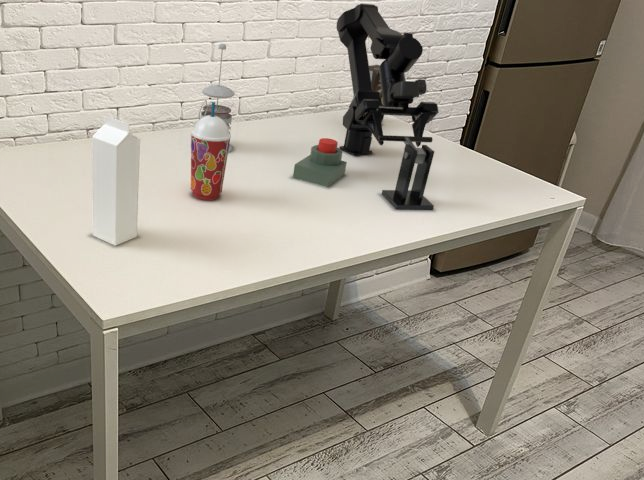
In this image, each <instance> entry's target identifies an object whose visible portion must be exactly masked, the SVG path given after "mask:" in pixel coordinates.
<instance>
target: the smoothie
mask: <svg viewBox="0 0 644 480" xmlns="http://www.w3.org/2000/svg"><path fill="white" fill-rule="evenodd" d="M211 102H212V109H211V115H208V116H204V117H202V118H201V117H200V120H199V119H198V120H197V121H196V123H195V124H194V126H193V128H192V129H191V130H190V135H191V136H190V137H191V138H190V191H192V195H193V197H195V198H196V199H199V200H202V201H214V200H217V199H218V198H220V194H221V193H222V192H223V186H224V180H225V173H226V167H227V162H228V156H229V155H228V154H229V152H228V150H229V144H230V142H231V138H232V134H231V131H230V129H228V126H227V125H226V123H225V122H224V121H223V120H222V119H221V118H219V117H217V116H215V115H214V111H215V105H216V101H211ZM229 131H230V132H229Z"/></svg>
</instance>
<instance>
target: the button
mask: <svg viewBox="0 0 644 480" xmlns="http://www.w3.org/2000/svg"><path fill="white" fill-rule="evenodd" d="M338 144H339V142H338V141H337V140H336V139H333V138H328V137H327V138H326V137H323V138H320V139H319V140H318V144H317V145H318V151H320V152H323V153H330V154H332V153H336V149H337V148H338Z"/></svg>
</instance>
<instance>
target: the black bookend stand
mask: <svg viewBox="0 0 644 480" xmlns="http://www.w3.org/2000/svg"><path fill="white" fill-rule="evenodd" d="M421 148H422V149H423V150H424V151H425V153H426V157H425V160H424V163H423V164H416V169H415V172H414V176H413V171H414V168H415V160H416V156H417V152H418V151H417V150H416V149H415V148H413V147H412V146H411V145H410V144H406V145H405V144H404V149H403V155H402V159H401V162H400V167H399V170H398V175H397V180H396V184H395V189H382V190H381V196H382V197H383V198H384V199H385V200H386V201H387V202H388V203H389V204H390V206H392V208H394V210H395V211H434V208H435V205H434V204H433V203H432V202H431V201H430V200H429V199H427V197H425V196H424V194H425V190H426V186H427V182H428V180H429V179H428V178H429V175H430V171H431V167H432V164H433V160H434V155H435V150H433V149H432V148H431V147H430V146H428V145H427V144H422V145H421ZM412 176H413V181H412V185H411V188H410V184H411V180H412ZM409 189H411V190H409Z"/></svg>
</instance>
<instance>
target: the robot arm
mask: <svg viewBox="0 0 644 480" xmlns="http://www.w3.org/2000/svg"><path fill="white" fill-rule="evenodd" d="M336 31H337V34H338V37H339V41H340V42H341V43H342V45H343V46H345V48H346V50H347V56H348V64H349V71H350V79H351V85H352V93H353V96H354V98H353V97H352V100H351V102H350V104H349V106H348V109H347V110H346V112H345V113H344V115H343V116H342V126H343V127H344V128H345V129H346V133H345V138H344V144H343V145H340V146H339V148H338V149H340V150H342V151H344V152H346V153H348V154H350V155H352V156H356V157H358V156H364V155H370V154H373V150H371V145H372V141H373V137H374V139H375V140H376V141H377V143H378V144H379V146H383V145H384V143H385V141H378V136H379V135H384V131H383V123H382V124H381V122H382V120H383V121H384V118H383V117H385V116H399V117H400V116H401V117H411V121H412V122H413V123H412V124H411V127H412V132H413V136H415V137H424V132H425V128H426V125H427V124H429V123H430V122H431V121H432V120H433V119H434V118H435V117H436V116H437V115H438V114H439V113H440V111H439V105H438V104H437V103H436V102H434V101H420V102H419V104H418V105H417V106H415V107H414V106H412V107H411V106H410V104H411V105H412V103H414V99H415V98H419V97H420V96H422V95H425V94H426V92H427V82H426V79H423V78H418V79H416V80H415V81H409V80H408V81H407V80H406V75H405V73H407V72H409V71H410V70H411V69H412V68H413V66H414V65H415V64H416V62H417V61H418V60H419V59H420V57H422V55H423V52H424V48H423V45H422V44H421V42H420V41H419V40H418V39H417V38H415V37H414V35H413V33H412V32H404V33H403V34H402V33H401V32H400V31H398V30H395V29H392V28H390V26H389V25H388V24H387V21H386V20H385V19H384V17H383V16H382V14H381V13H380V12H379V7H378V6H377V5H376V4H372V3H360V4H356V6H355V7H353V8H351V9H348V10H345V11H343V13H341V15H340V16H339V17H338V18H337V21H336ZM368 38H369V39H370V41H371V44H370V47H369V49H370V51H371V54H372V57H373V59H374V60H383V61H382V62H381V63H380V64H379V65H380V66H379V69H378V71H377V74H376V75H377V76H380V82H381V92H374V91H373V90H372V84H371V77H370V70H369V66H370V65H369V57H368V50H367V44H366V42H367V39H368ZM381 98H382V99H383V104H382V101H381ZM372 136H373V137H372ZM421 144H422V142H415V146H416V148H420V147H421V146H422V145H421Z"/></svg>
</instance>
